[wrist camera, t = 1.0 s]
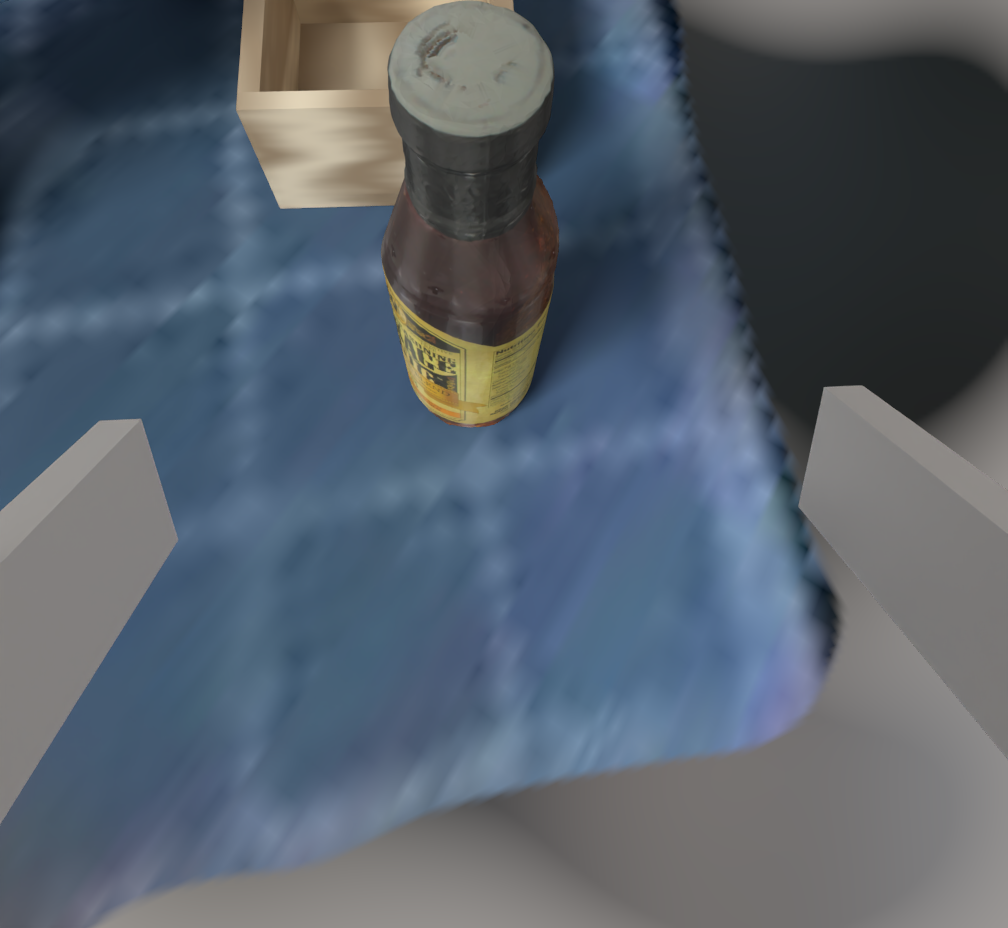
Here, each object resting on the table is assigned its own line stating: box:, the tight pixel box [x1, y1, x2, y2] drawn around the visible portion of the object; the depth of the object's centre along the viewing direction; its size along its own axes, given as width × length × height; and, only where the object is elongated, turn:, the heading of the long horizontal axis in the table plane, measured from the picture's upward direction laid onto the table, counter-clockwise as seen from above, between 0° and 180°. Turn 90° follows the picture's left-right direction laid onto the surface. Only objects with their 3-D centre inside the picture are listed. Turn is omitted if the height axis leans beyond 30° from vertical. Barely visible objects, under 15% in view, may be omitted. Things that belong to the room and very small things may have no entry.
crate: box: [236, 0, 514, 208], centre depth 37 cm, size 13×13×7 cm
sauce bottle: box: [381, 0, 559, 427], centre depth 26 cm, size 7×6×20 cm
